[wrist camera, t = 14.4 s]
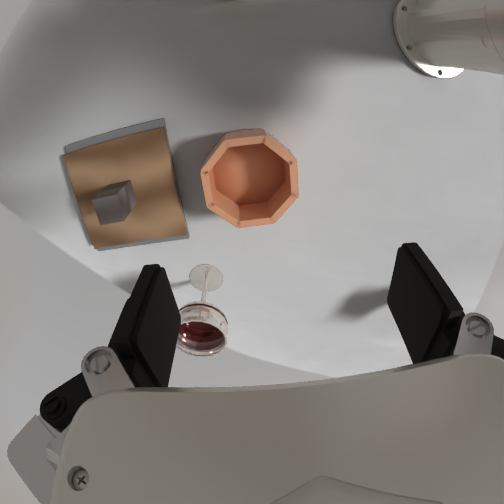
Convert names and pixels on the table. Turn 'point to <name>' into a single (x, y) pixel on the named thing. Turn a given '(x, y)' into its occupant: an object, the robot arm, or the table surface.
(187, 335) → the wineglass
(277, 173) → the bowl
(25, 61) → the table surface
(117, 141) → the cover
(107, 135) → the mat
